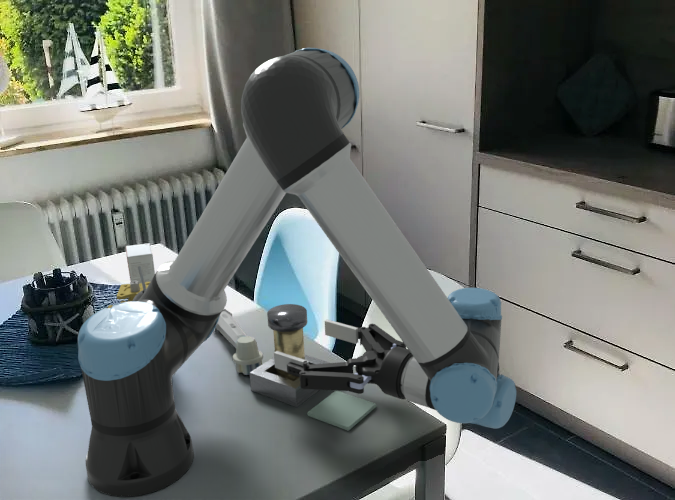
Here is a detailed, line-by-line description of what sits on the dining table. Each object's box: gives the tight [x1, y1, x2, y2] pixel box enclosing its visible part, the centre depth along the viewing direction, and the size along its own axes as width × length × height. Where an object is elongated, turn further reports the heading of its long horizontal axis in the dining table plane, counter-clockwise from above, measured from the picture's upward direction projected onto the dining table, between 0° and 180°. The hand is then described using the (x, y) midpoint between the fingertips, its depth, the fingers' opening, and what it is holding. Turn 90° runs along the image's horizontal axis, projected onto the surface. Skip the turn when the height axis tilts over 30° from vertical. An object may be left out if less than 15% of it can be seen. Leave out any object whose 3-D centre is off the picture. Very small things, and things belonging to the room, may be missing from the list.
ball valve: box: [107, 280, 150, 308], centre depth 150 cm, size 13×10×10 cm
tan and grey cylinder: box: [266, 303, 308, 381], centre depth 122 cm, size 7×7×14 cm
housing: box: [249, 354, 331, 408], centre depth 124 cm, size 10×10×4 cm
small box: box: [125, 242, 156, 284], centre depth 166 cm, size 8×6×10 cm
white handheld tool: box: [215, 308, 264, 376], centre depth 139 cm, size 5×7×25 cm
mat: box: [306, 390, 377, 431], centre depth 117 cm, size 8×8×1 cm
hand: (301, 342), depth 121 cm, fingers open, 13 cm apart
